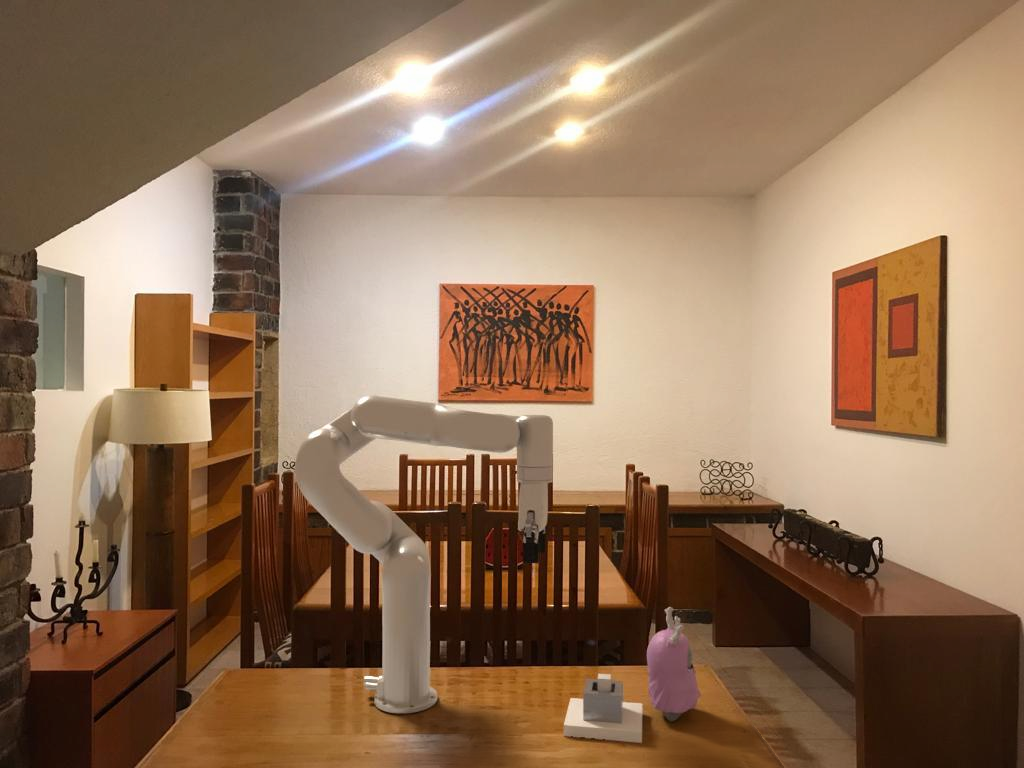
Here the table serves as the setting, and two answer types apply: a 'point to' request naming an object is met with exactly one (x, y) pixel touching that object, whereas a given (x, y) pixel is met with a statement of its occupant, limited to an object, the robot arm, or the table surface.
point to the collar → (603, 702)
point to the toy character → (671, 671)
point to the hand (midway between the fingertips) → (534, 557)
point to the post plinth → (604, 730)
